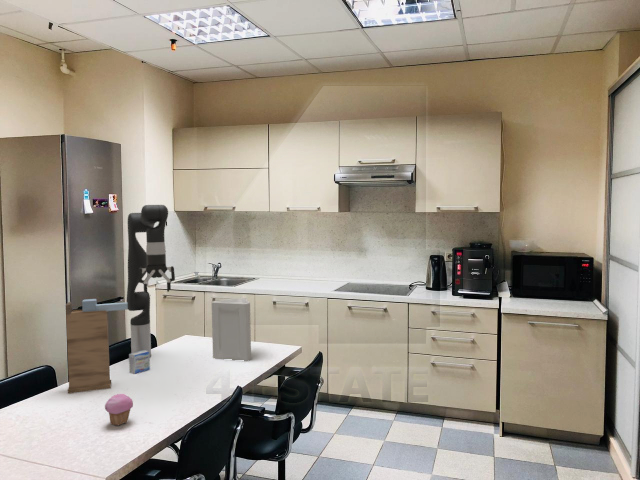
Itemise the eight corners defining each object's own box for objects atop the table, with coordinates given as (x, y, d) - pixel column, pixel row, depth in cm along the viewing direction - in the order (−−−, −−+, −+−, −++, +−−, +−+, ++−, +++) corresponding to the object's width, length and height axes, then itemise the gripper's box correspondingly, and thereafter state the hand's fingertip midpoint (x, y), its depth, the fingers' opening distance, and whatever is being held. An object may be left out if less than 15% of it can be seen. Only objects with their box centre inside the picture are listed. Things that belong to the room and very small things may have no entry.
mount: (69, 387, 208) (66, 302, 205) (111, 382, 213) (108, 299, 211) (67, 393, 201) (64, 305, 199) (110, 388, 207) (107, 302, 204)
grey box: (260, 353, 255) (259, 298, 254) (247, 361, 241) (246, 304, 240) (226, 350, 261) (225, 297, 260) (212, 358, 247) (210, 302, 245)
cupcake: (125, 416, 178) (124, 388, 178) (138, 422, 173) (137, 394, 172) (100, 424, 171) (99, 395, 171) (113, 431, 166) (112, 401, 165)
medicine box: (134, 374, 224) (134, 355, 224) (129, 372, 227) (128, 353, 227) (150, 369, 231) (149, 351, 230) (144, 367, 233) (143, 349, 233)
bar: (83, 311, 207) (83, 299, 207) (127, 307, 213) (127, 296, 212) (82, 313, 203) (82, 301, 202) (127, 309, 208) (127, 298, 208)
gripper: (173, 251, 212) (174, 289, 213) (137, 253, 207) (139, 292, 208) (174, 253, 205) (175, 292, 206) (137, 254, 200) (139, 294, 201)
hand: (157, 292), depth 207 cm, fingers open, 8 cm apart
